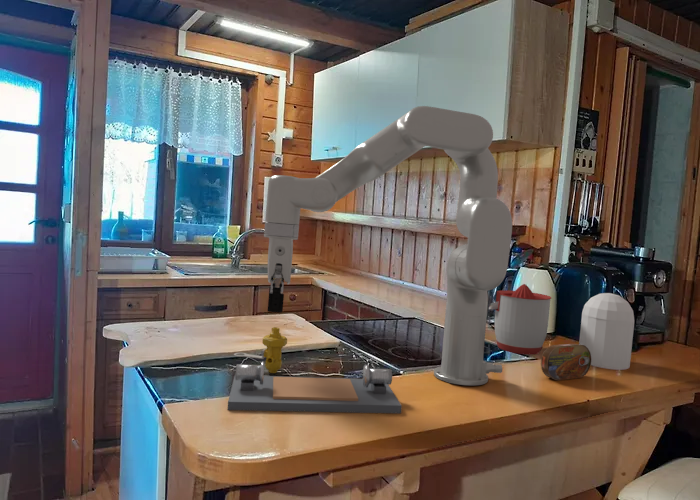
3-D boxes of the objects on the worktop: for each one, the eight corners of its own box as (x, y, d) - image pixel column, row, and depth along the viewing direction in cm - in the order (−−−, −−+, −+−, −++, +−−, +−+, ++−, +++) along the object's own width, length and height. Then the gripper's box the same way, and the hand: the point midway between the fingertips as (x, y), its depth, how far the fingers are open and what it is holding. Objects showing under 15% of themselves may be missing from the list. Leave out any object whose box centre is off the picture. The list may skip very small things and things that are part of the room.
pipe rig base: (384, 386, 118) (385, 377, 118) (401, 413, 102) (401, 403, 102) (234, 382, 113) (234, 372, 113) (227, 409, 98) (228, 398, 97)
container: (629, 373, 144) (636, 298, 142) (574, 363, 150) (581, 292, 149) (629, 362, 156) (637, 293, 154) (579, 354, 162) (586, 288, 161)
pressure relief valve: (279, 376, 119) (282, 331, 119) (228, 370, 121) (231, 325, 121) (287, 370, 125) (290, 326, 124) (238, 363, 127) (241, 321, 126)
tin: (546, 381, 130) (550, 347, 130) (537, 377, 133) (540, 344, 133) (590, 377, 137) (594, 344, 137) (580, 373, 140) (583, 341, 139)
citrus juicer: (482, 341, 170) (488, 278, 168) (540, 347, 167) (546, 283, 166) (488, 353, 154) (494, 284, 153) (551, 360, 152) (558, 289, 151)
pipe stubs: (387, 387, 112) (388, 363, 111) (391, 395, 107) (393, 369, 107) (236, 383, 108) (237, 358, 107) (234, 391, 103) (236, 364, 103)
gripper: (299, 234, 112) (292, 316, 113) (296, 231, 129) (290, 302, 130) (263, 231, 111) (256, 314, 112) (265, 228, 128) (259, 300, 129)
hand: (275, 307), depth 121 cm, fingers open, 9 cm apart
